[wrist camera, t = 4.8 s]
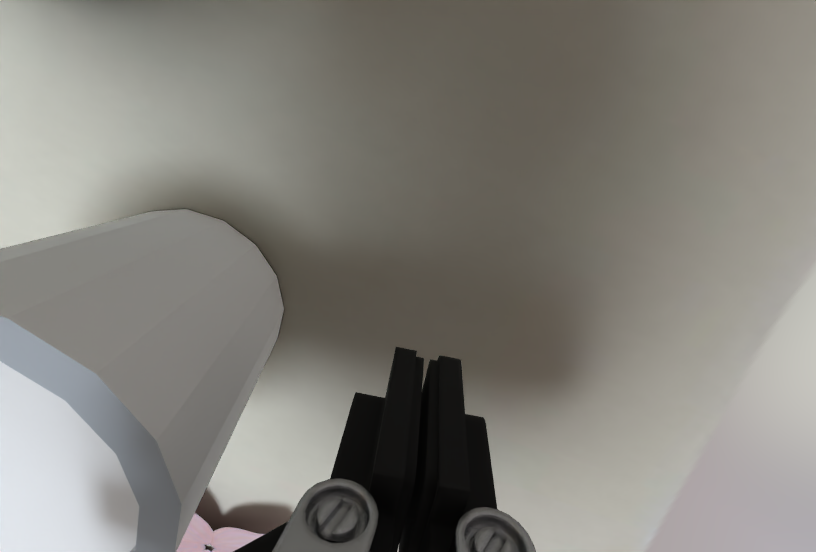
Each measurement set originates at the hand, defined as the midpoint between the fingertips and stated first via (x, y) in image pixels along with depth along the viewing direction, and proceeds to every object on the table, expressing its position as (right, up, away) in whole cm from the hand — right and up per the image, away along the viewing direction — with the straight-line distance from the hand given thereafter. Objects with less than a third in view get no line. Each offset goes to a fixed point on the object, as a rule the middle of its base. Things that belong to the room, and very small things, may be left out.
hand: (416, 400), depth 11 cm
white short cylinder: (-7, +3, +3) cm, 8 cm away
